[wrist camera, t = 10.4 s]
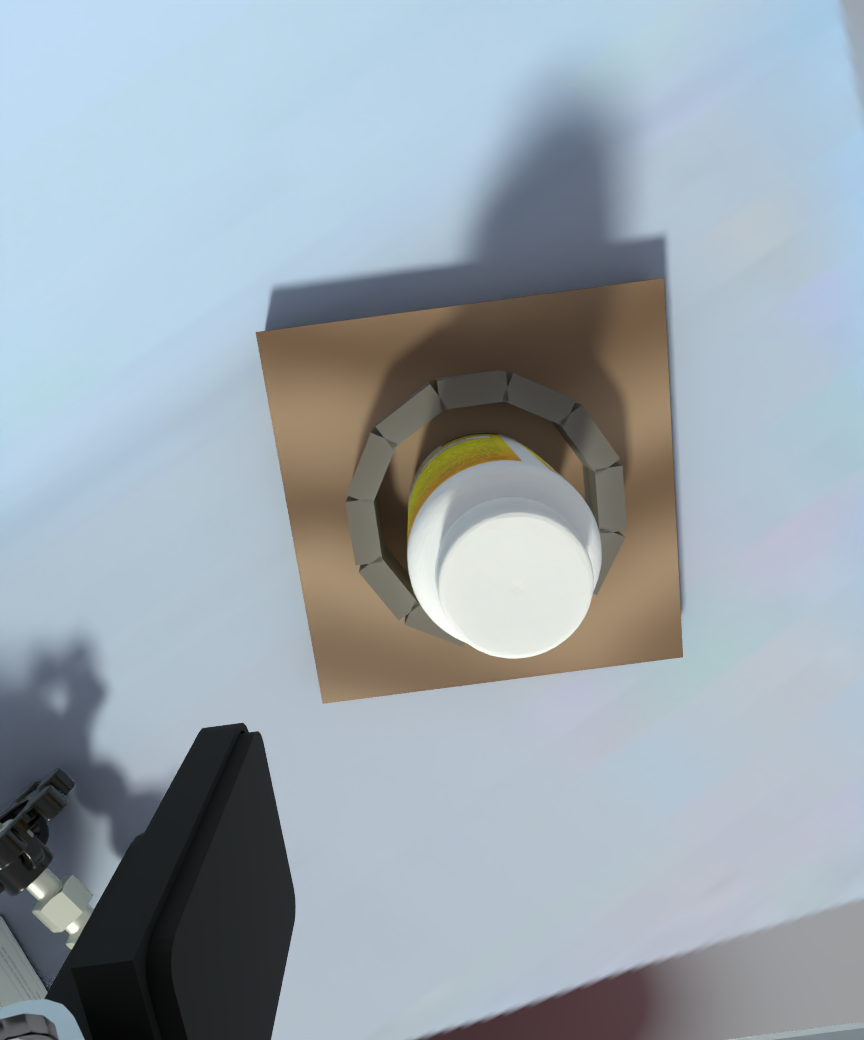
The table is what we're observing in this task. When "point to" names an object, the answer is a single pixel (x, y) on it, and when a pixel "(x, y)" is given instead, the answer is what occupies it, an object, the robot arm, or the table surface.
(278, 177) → the table surface
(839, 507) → the table surface
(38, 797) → the valve
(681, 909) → the table surface
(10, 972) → the supplement box
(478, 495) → the supplement bottle
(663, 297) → the collar plate
